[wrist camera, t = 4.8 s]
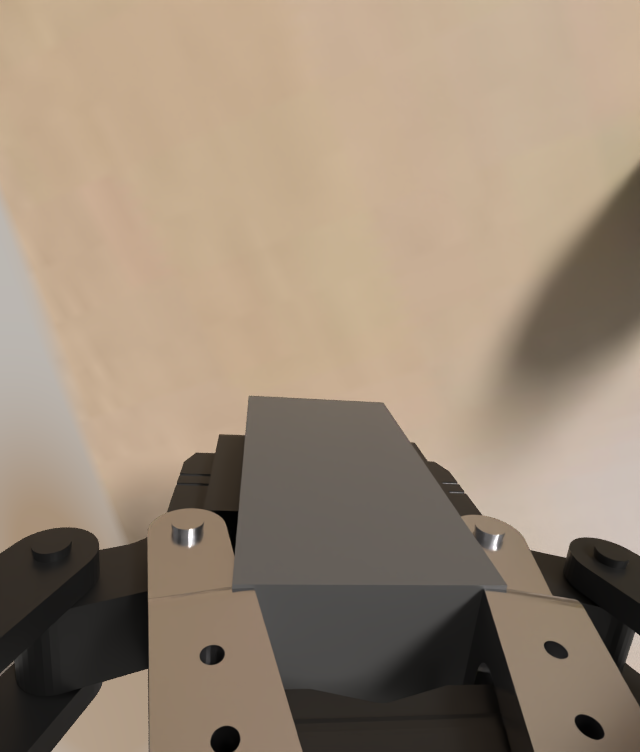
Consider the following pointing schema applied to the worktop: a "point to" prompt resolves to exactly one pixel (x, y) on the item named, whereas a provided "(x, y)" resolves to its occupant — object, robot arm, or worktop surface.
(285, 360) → the worktop surface
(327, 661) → the grey piece
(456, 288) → the worktop surface
